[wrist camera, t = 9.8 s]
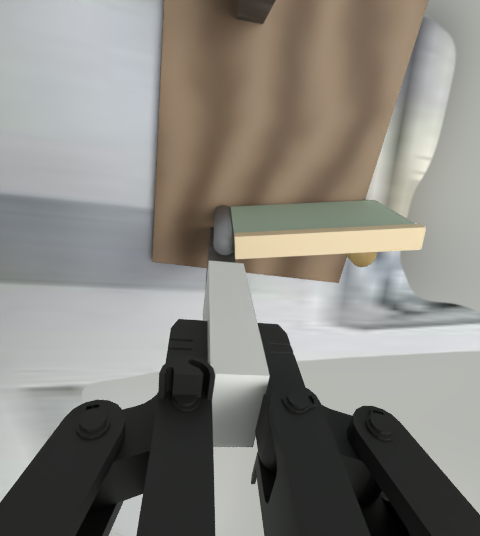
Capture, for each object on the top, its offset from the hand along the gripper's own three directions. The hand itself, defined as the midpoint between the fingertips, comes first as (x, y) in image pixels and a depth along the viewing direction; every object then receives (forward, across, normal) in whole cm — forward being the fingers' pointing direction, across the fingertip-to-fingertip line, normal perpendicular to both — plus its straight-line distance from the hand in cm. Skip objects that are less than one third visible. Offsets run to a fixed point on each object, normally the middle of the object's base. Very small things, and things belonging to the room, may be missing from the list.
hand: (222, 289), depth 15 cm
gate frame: (+24, +6, +5) cm, 25 cm away
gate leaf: (+22, +9, -2) cm, 24 cm away
